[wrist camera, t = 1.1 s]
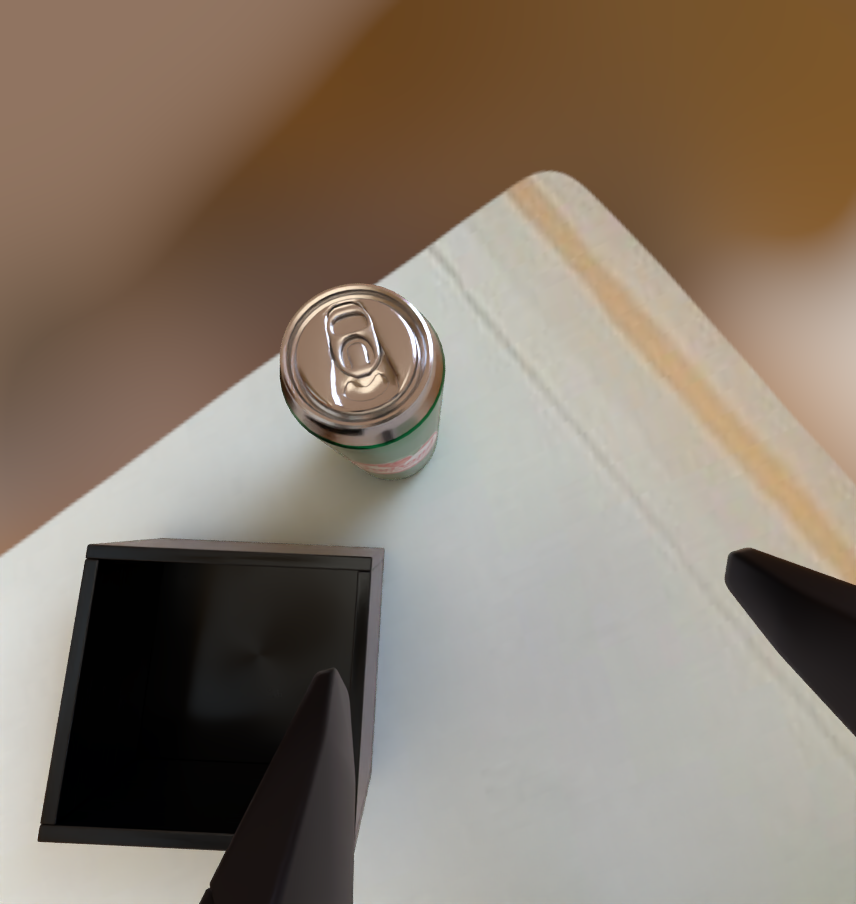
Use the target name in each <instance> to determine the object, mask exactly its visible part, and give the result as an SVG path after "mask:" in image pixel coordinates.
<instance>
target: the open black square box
mask: <svg viewBox="0 0 856 904" xmlns="http://www.w3.org/2000/svg"><path fill="white" fill-rule="evenodd" d="M86 558H87V559H86V560H85V564H84V570H83V576H82V582H81V587H80V593H79V599H78V605H77V611H76V617H75V623H74V629H73V634H72V640H71V646H70V652H69V658H68V664H67V670H66V676H65V681H64V687H63V693H62V699H61V705H60V711H59V717H58V723H57V728H56V734H55V740H54V746H53V752H52V758H51V764H50V770H49V775H48V781H47V787H46V793H45V799H44V805H43V811H42V817H41V822H40V823H41V825H40V828H39V834H38V842H54V843H75V844H95V845H116V846H137V847H157V848H178V849H199V850H219V851H226V850H227V848H228V846H229V844H230V842H231V840H232V838H233V836H234V834H235V832H236V830H237V828H238V826H239V824H240V822H241V820H242V818H243V816H244V814H245V812H246V810H247V808H248V806H249V804H250V802H251V800H252V798H253V796H254V794H255V792H256V790H257V788H258V786H259V784H260V782H261V780H262V778H263V776H264V774H265V772H266V770H267V768H268V766H269V765H270V763H271V761H272V759H273V757H274V755H275V753H276V751H277V749H278V747H279V745H280V743H281V741H282V739H283V737H284V735H285V733H286V731H287V729H288V727H289V725H290V723H291V721H292V719H293V717H294V715H295V713H296V711H297V709H298V707H299V705H300V703H301V701H302V699H303V697H304V695H305V693H306V691H307V689H308V687H309V685H310V683H311V681H312V679H313V677H314V675H315V674H316V673H317V672H319V671H322V670H326V669H329V668H335V669H336V670H337V671H338V673H339V675H340V677H341V679H342V681H343V683H344V685H345V687H346V689H347V691H348V695H349V702H350V715H351V728H352V741H353V754H354V768H355V831H354V852H355V847H356V843H357V838H358V833H359V829H360V824H361V819H362V815H363V810H364V806H365V801H366V796H367V792H368V787H369V783H370V778H371V770H372V753H373V736H374V719H375V702H376V685H377V668H378V651H379V634H380V617H381V600H382V583H383V566H384V548H373V547H350V546H328V545H305V544H283V543H260V542H238V541H215V540H193V539H170V538H159V539H147V540H135V541H123V542H111V543H99V544H89V545H88V546H87V552H86Z"/></svg>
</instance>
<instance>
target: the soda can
mask: <svg viewBox="0 0 856 904" xmlns="http://www.w3.org/2000/svg"><path fill="white" fill-rule="evenodd" d="M444 378H445V357H444V353H443V349H442V345H441V342H440V340H439V338H438V335H437V333H436V332H435V330H434V328H433V327H432V325H431V324H430V322H429V321H428V320H427V319H426V318H425V317H424V316H423V314H421V313H420V312H419V311H418V310H417V309H415V308H414V306H413V305H412V304H411V303H409V302H408V301H407V300H406V299H405V298H403V297H402V296H400V295H398V294H397V293H395V292H393V291H391V290H388V289H386V288H384V287H380V286H376V285H372V284H361V283H360V284H359V283H358V284H346V285H341V286H336V287H334V288H331V289H328V290H325V291H324V292H322V293H320V294H318V295H316V296H314V297H313V298H312V299H311V300H309V301H308V302H306V303H305V304H304V305H303V306H302V307H301V308H300V309H299V310H298V311H297V313H296V314H295V315H294V317H293V318H292V319H291V321H290V323H289V325H288V327H287V329H286V331H285V334H284V337H283V339H282V344H281V350H280V382H281V388H282V392H283V395H284V398H285V401H286V403H287V405H288V407H289V409H290V411H291V413H292V414H293V416H294V417H295V418H296V419H297V421H298V422H299V423H300V424H301V425H302V426H303V427H304V428H305V429H306V430H307V431H308V432H309V433H311V434H312V435H314V436H315V437H317V438H318V439H319V440H321V441H322V442H324V443H325V444H326V445H328V446H329V447H331V448H332V449H334V450H335V451H336V452H338V453H339V454H341V455H342V456H343V457H345V458H346V459H348V460H349V461H351V462H352V463H353V464H355V465H356V466H358V467H359V468H360V469H362V470H363V471H365V472H366V473H368V474H369V475H372V476H374V477H376V478H380V479H385V480H398V479H403V478H406V477H409V476H411V475H413V474H415V473H417V472H418V471H419V470H421V469H422V468H423V467H424V466H425V465H426V464H427V463H428V462H429V460H430V458H431V457H432V455H433V453H434V451H435V448H436V444H437V437H438V429H439V420H440V412H441V404H442V396H443V387H444Z"/></svg>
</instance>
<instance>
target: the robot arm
mask: <svg viewBox="0 0 856 904" xmlns="http://www.w3.org/2000/svg"><path fill="white" fill-rule="evenodd" d="M725 583H726V585H727V587H728V589H729V591H730V592H731V593H732V594H733V596H734V597H735V598H736V600H737V601H738V602H739V603H740V605H741V606H742V607H743V609H744V610H745V611H746V612H747V614H748V615H749V616H750V618H751V619H752V620H753V621H754V623H755V624H756V625H757V627H758V628H759V629H760V630H761V632H762V633H763V634H764V636H765V637H766V638H767V639H768V641H769V642H770V643H771V644H772V646H773V647H774V648H775V649H776V650H777V652H778V653H779V654H780V655H781V656H782V657H783V659H784V660H785V661H786V662H787V663H788V664H789V665H790V666H791V667H792V668H793V670H794V671H795V672H796V673H797V674H798V675H799V676H800V677H801V678H802V679H803V680H804V681H805V682H806V684H807V685H808V686H809V687H810V688H811V689H812V690H813V691H814V692H815V693H816V694H817V695H818V697H819V698H820V699H821V700H822V701H823V702H824V703H825V704H826V705H827V706H828V707H829V708H830V709H831V711H832V712H833V713H834V714H835V715H836V716H837V717H838V718H839V719H840V720H841V721H842V722H843V724H844V725H845V726H846V727H847V728H848V729H849V730H850V731H851V732H852V733H853V734H854V735H855V737H856V585H853V584H850V583H847V582H845V581H842V580H839V579H836V578H834V577H831V576H828V575H825V574H822V573H820V572H817V571H814V570H811V569H808V568H806V567H803V566H800V565H797V564H795V563H792V562H789V561H786V560H783V559H781V558H778V557H775V556H772V555H769V554H767V553H764V552H761V551H758V550H756V549H752V548H744V549H740V550H737V551H733V552H731V553H730V554H729V555H728V560H727V566H726V572H725ZM354 831H355V768H354V754H353V741H352V728H351V715H350V702H349V695H348V691H347V689H346V687H345V685H344V683H343V681H342V679H341V677H340V675H339V673H338V671H337V670H336V669H335V668H329V669H326V670H322V671H319V672H317V673H316V674H315V675H314V677H313V679H312V681H311V683H310V685H309V687H308V689H307V691H306V693H305V695H304V697H303V699H302V701H301V703H300V705H299V707H298V709H297V711H296V713H295V715H294V717H293V719H292V721H291V723H290V725H289V727H288V729H287V731H286V733H285V735H284V737H283V739H282V741H281V743H280V745H279V747H278V749H277V751H276V753H275V755H274V757H273V759H272V761H271V763H270V765H269V766H268V768H267V770H266V772H265V774H264V776H263V778H262V780H261V782H260V784H259V786H258V788H257V790H256V792H255V794H254V796H253V798H252V800H251V802H250V804H249V806H248V808H247V810H246V812H245V814H244V816H243V818H242V820H241V822H240V824H239V826H238V828H237V830H236V832H235V834H234V836H233V838H232V840H231V842H230V844H229V846H228V848H227V850H226V852H225V854H224V856H223V858H222V860H221V862H220V864H219V866H218V868H217V870H216V872H215V874H214V876H213V878H212V880H211V882H210V888H208V889H207V890H206V891H205V893H204V895H203V897H202V899H201V901H200V903H199V904H353V875H354Z"/></svg>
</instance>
